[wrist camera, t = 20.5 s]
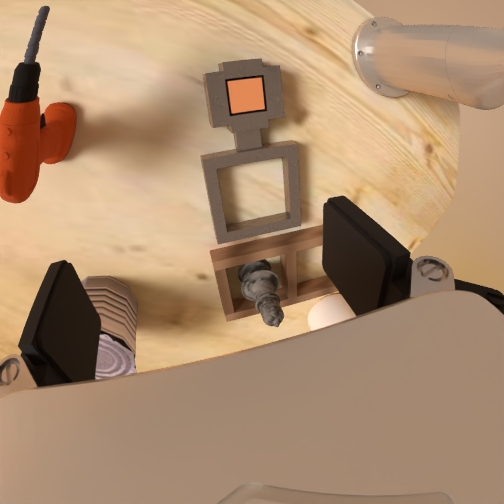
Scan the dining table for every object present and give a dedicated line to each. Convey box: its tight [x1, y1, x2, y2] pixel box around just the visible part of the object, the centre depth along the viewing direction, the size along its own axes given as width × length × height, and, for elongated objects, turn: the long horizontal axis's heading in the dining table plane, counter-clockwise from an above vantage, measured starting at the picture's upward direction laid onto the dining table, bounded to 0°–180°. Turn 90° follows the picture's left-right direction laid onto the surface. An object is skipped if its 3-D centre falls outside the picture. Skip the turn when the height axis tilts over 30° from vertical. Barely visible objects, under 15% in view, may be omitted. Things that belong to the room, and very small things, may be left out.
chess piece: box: [238, 259, 284, 327], centre depth 43 cm, size 6×6×12 cm
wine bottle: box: [308, 294, 356, 331], centre depth 46 cm, size 10×10×30 cm
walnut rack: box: [210, 225, 338, 322], centre depth 47 cm, size 22×12×3 cm, turn 96°
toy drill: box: [0, 6, 76, 203], centre depth 21 cm, size 5×19×15 cm, turn 158°
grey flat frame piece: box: [201, 59, 301, 244], centre depth 36 cm, size 12×23×3 cm, turn 6°
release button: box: [225, 78, 265, 113], centre depth 31 cm, size 4×4×3 cm
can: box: [81, 276, 137, 379], centre depth 39 cm, size 11×11×12 cm
